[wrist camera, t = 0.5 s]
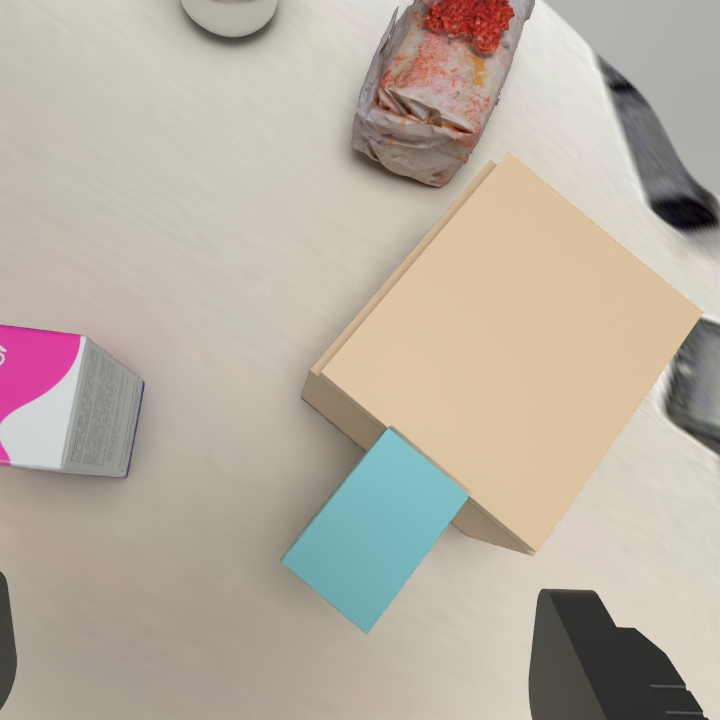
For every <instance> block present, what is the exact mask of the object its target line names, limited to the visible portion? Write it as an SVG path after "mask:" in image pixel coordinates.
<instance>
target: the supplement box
mask: <svg viewBox="0 0 720 720" xmlns="http://www.w3.org/2000/svg"><path fill="white" fill-rule="evenodd" d="M143 390H144V382H143V381H142V380H141V379H140V378H139V377H137V376H136V375H135V374H134V373H132V372H131V371H130V370H128V369H127V368H126V367H125V366H123V365H122V364H121V363H120V362H118V361H117V360H116V359H114V358H113V357H112V356H111V355H109V354H108V353H107V352H106V351H104V350H103V349H102V348H101V347H99V346H98V345H97V344H95V343H94V342H93V341H92V340H91V339H89V338H88V337H87V336H84V335H77V334H70V333H62V332H55V331H46V330H38V329H31V328H23V327H15V326H6V325H0V465H2V466H11V467H19V468H26V469H34V470H42V471H52V472H62V473H72V474H83V475H92V476H106V477H120V478H127V475H128V470H129V465H130V459H131V454H132V448H133V443H134V437H135V432H136V427H137V421H138V416H139V411H140V406H141V400H142V395H143Z"/></svg>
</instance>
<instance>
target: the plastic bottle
mask: <svg viewBox="0 0 720 720" xmlns="http://www.w3.org/2000/svg"><path fill="white" fill-rule="evenodd" d="M181 2H182V5H183V7H184V9H185V10H186V12H187V14H188V15H189V16H190V17H191V18H192V19H193V20H194V21H195V22H196V23H197V24H199V25H200V26H201V27H203V28H205V29H206V30H208V31H210V32H212V33H214V34H217V35H220V36H225V37H242V36H247V35H249V34H251V33H254V32H255V31H257V30H259V29H260V28H262V27H263V26H265V25H266V24H267V23H268V21H269V20H270V19H271V18H272V16H273V14H274V12H275V9H276V6H277V2H278V0H181Z"/></svg>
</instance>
